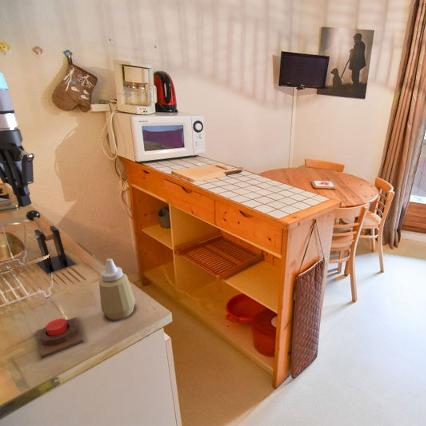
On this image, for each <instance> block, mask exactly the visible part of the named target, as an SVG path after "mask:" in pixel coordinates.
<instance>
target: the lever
mask: <svg viewBox="0 0 426 426" xmlns="http://www.w3.org/2000/svg"><path fill="white" fill-rule="evenodd" d="M25 218H26V219H27V220H28V221H31V222H34V223H35V224H36V226H37V227H38V228H39V229H40V231H41V232H42V233H43V235H44V238H45V242H48V241H52V240H53V239H54V234H53V232H52V231H51V230H50V228H46V226H45V225H44V223H43V222H42V221H41V220H40V218H41V213H40V211H38V210H35V209H32V210H28V211H27V212H26V214H25Z"/></svg>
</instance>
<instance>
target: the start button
mask: <svg viewBox="0 0 426 426" xmlns="http://www.w3.org/2000/svg"><path fill="white" fill-rule="evenodd" d="M66 320H67V319H65V318H56V319H54V320H51V321H50V322H48V323H46V325H45V327H46V331H47V334H48V335H49V336H57V335H60V334H62V333H64V332H65V331H67V330H68V324H67V321H66Z"/></svg>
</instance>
